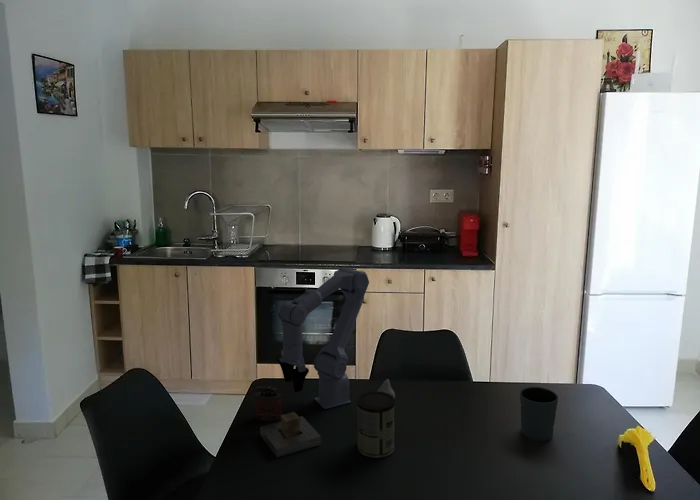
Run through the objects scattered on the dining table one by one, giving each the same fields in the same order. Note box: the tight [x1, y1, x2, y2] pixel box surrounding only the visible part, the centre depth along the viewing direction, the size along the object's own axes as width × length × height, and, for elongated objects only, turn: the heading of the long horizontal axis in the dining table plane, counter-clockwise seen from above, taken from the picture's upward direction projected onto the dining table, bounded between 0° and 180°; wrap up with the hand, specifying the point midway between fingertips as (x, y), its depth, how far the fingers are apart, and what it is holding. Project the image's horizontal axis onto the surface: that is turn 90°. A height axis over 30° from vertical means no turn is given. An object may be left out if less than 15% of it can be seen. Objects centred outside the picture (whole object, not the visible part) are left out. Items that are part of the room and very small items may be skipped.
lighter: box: [254, 385, 282, 421], centre depth 159 cm, size 8×3×10 cm, turn 84°
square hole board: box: [259, 415, 322, 458], centre depth 147 cm, size 13×13×2 cm
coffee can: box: [356, 390, 396, 459], centre depth 142 cm, size 10×10×14 cm
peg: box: [280, 411, 300, 439], centre depth 147 cm, size 4×4×7 cm
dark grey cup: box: [519, 386, 559, 442], centre depth 149 cm, size 10×10×12 cm
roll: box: [377, 378, 396, 399], centre depth 160 cm, size 6×12×6 cm
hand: (293, 386), depth 158 cm, fingers open, 7 cm apart
